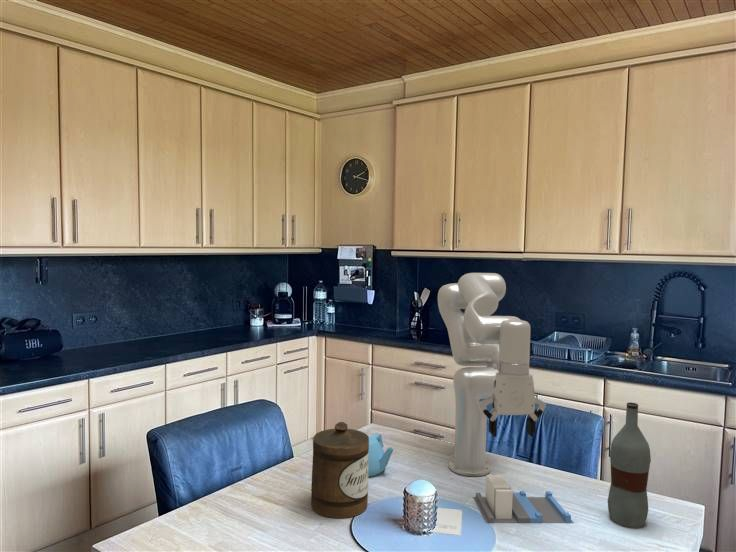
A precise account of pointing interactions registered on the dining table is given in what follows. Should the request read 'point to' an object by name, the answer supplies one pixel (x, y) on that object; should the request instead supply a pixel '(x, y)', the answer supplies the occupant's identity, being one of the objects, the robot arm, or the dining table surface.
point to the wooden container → (340, 472)
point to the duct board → (527, 510)
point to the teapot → (377, 455)
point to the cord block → (499, 496)
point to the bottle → (629, 473)
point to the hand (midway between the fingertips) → (511, 435)
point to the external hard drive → (448, 522)
